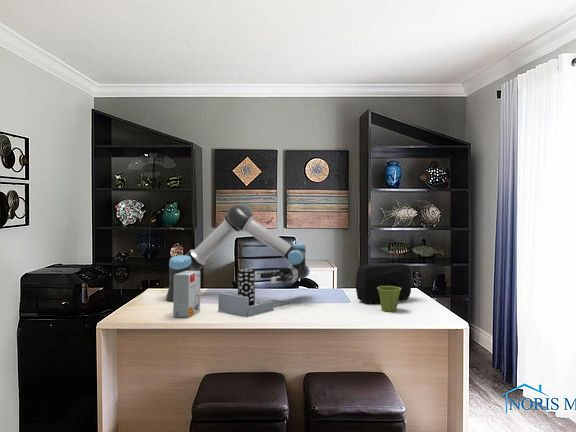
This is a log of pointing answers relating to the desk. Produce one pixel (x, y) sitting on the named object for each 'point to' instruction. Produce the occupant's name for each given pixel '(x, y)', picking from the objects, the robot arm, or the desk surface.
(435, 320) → the desk surface
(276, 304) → the mat
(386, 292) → the plant pot
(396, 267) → the black hard case
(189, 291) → the hard drive box
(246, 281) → the spotted tube
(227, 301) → the bay
